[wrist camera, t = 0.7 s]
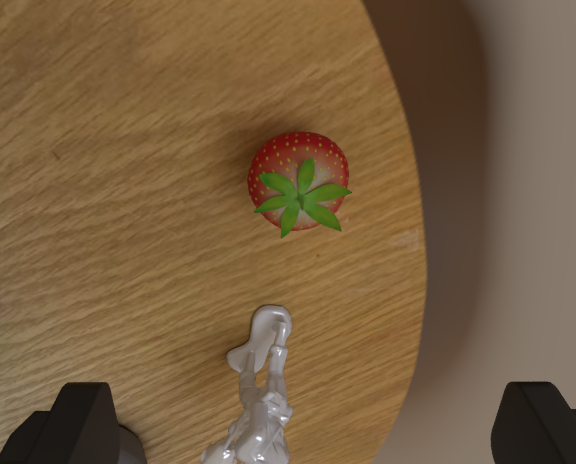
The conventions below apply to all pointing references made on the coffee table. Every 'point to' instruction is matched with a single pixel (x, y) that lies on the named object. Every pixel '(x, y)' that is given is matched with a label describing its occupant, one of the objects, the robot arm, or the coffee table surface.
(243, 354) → the figurine
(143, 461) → the cup
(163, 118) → the coffee table surface
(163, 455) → the coffee table surface
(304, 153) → the fruit
